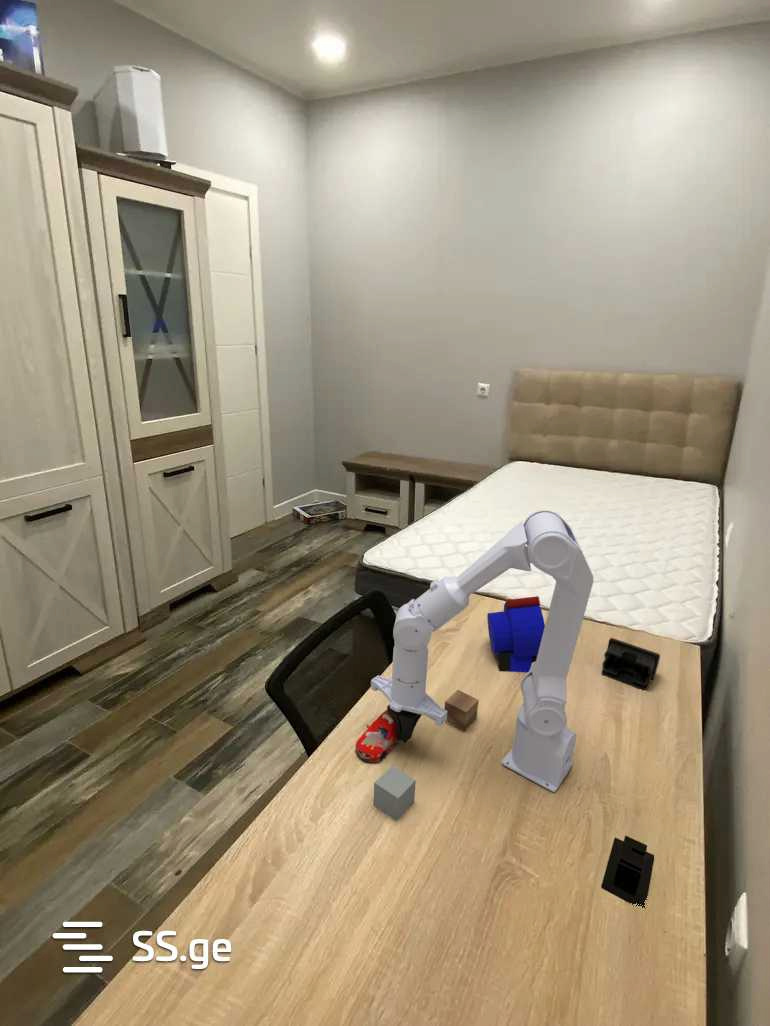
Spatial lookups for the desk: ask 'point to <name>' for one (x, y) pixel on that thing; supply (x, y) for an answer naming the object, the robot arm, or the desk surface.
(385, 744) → the race car
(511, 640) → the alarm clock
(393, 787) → the slate block
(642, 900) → the black open box
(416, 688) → the robot arm
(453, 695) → the walnut block
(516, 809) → the desk surface
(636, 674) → the black slotted holder
